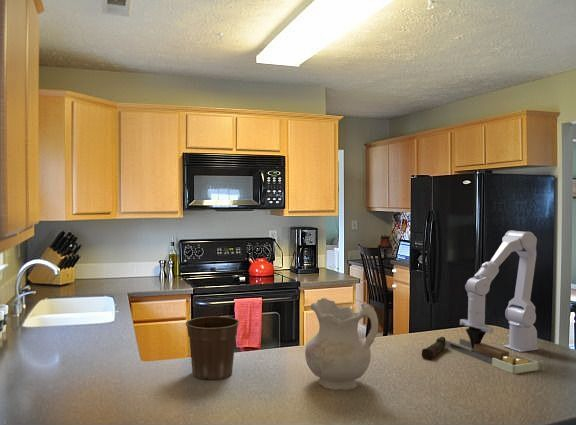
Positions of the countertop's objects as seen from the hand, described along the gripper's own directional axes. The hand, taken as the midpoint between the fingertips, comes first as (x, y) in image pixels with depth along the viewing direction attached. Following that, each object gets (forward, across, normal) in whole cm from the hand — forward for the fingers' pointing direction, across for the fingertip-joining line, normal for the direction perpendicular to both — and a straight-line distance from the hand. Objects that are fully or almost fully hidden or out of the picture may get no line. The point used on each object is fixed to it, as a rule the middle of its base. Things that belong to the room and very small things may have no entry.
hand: (475, 348), depth 188 cm
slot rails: (+1, 0, 0) cm, 1 cm away
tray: (+1, +18, 0) cm, 18 cm away
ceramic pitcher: (+2, +12, -62) cm, 63 cm away
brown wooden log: (+2, -5, -14) cm, 15 cm away
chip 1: (+2, +15, 0) cm, 15 cm away
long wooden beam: (+2, +7, 0) cm, 8 cm away
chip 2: (+2, +19, +2) cm, 19 cm away
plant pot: (+2, -10, -95) cm, 96 cm away
